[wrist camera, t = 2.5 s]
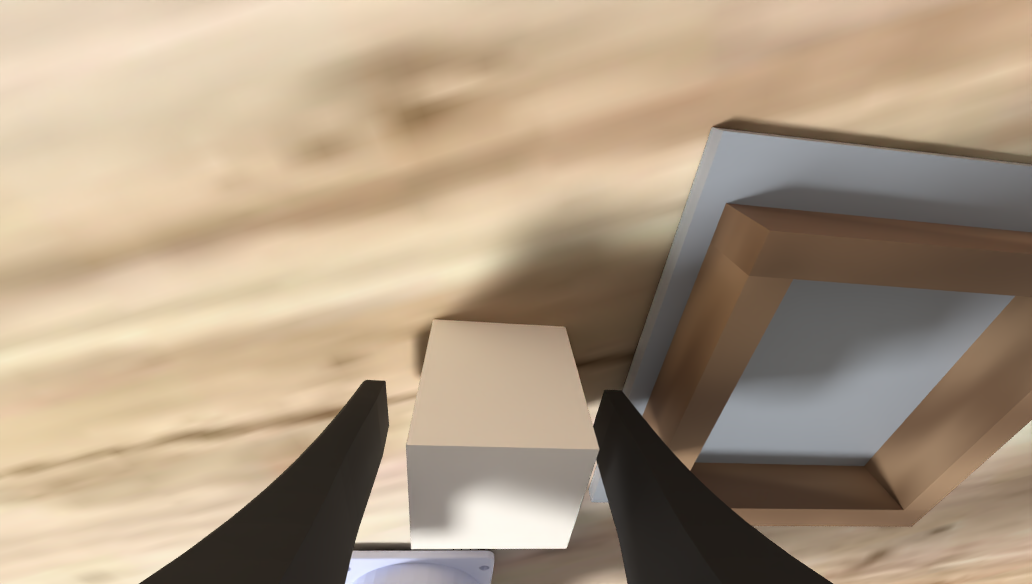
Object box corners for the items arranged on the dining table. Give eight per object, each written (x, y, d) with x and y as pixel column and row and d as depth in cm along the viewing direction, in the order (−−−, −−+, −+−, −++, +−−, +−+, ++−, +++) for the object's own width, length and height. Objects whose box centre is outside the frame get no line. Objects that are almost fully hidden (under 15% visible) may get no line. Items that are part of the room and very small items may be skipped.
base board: (856, 493, 20) (866, 505, 19) (588, 489, 18) (591, 502, 18) (1148, 178, 12) (1178, 183, 11) (711, 127, 10) (723, 130, 10)
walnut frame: (872, 482, 18) (911, 526, 17) (617, 478, 17) (631, 525, 15) (1101, 239, 12) (1201, 269, 10) (725, 203, 11) (769, 230, 9)
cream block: (545, 415, 16) (566, 548, 12) (432, 412, 15) (411, 549, 11) (565, 325, 14) (599, 449, 9) (433, 318, 13) (406, 444, 9)
